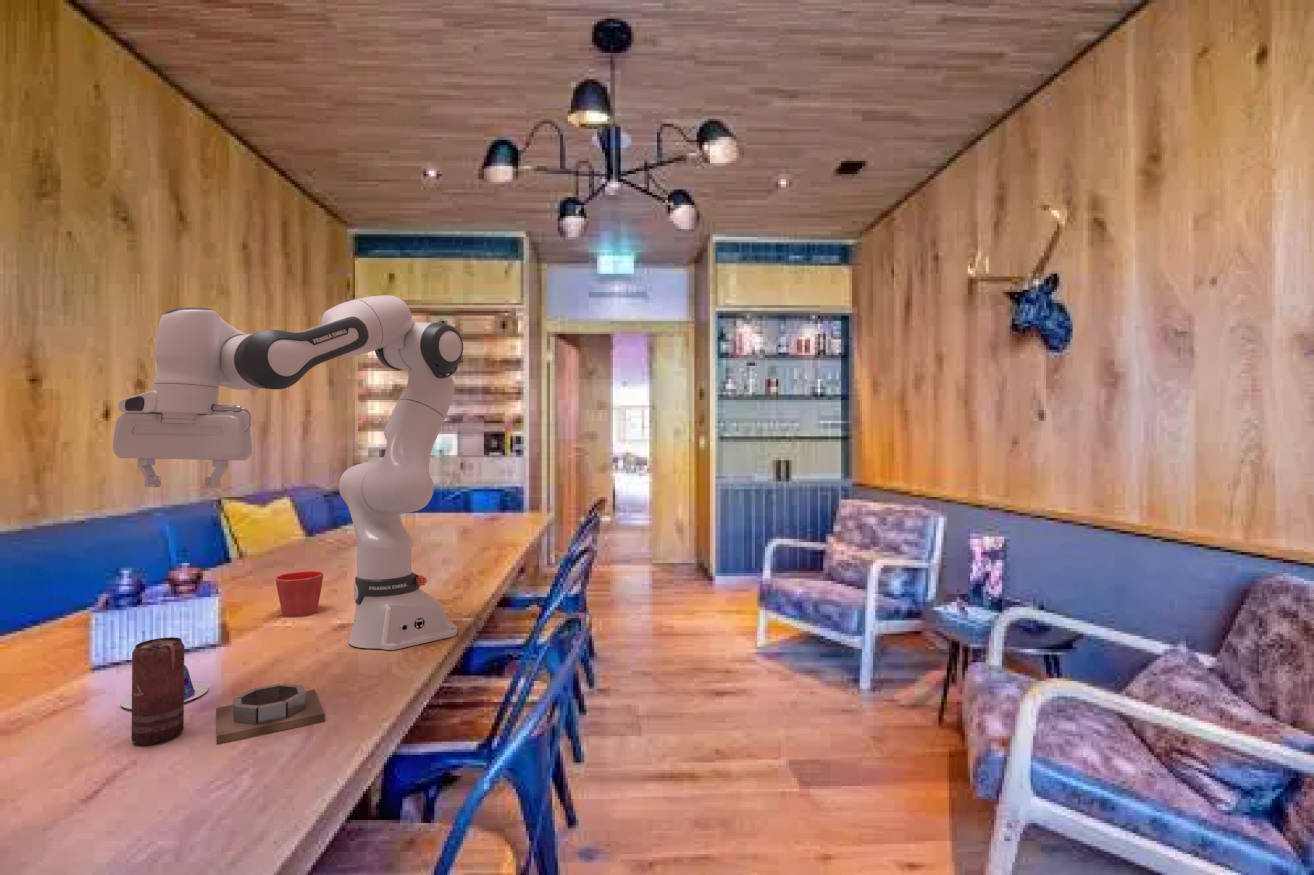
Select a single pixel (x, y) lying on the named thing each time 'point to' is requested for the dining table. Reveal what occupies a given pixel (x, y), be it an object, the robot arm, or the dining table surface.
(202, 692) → the patterned hat
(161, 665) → the can
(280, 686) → the ring
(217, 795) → the dining table surface
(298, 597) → the flower pot
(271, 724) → the holder board
